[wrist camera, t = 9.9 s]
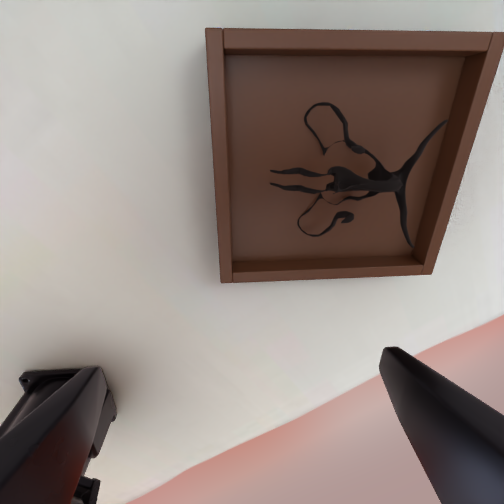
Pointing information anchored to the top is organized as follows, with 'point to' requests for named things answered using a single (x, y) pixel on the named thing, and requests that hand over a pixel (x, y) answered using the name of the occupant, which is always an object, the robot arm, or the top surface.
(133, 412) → the top surface
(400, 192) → the creature
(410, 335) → the top surface
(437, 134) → the tray
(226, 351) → the top surface
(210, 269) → the top surface
